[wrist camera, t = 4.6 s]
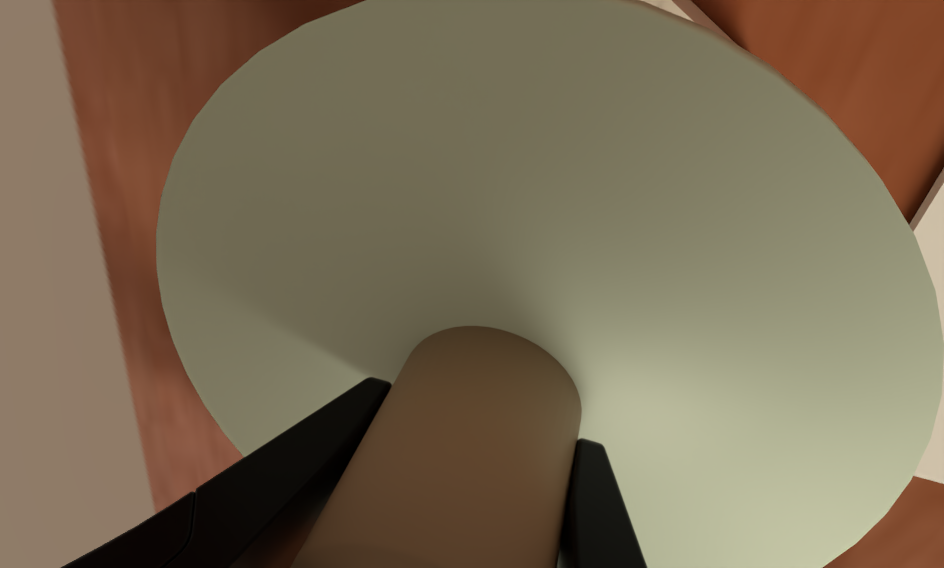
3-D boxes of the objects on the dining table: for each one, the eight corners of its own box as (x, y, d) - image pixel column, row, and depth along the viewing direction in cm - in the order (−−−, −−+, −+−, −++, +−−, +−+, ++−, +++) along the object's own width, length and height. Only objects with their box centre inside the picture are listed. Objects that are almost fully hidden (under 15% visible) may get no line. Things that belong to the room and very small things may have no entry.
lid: (730, 650, 14) (754, 948, 10) (227, 483, 16) (84, 676, 12) (1180, 87, 6) (2010, 397, 2) (117, -94, 8) (-366, -84, 4)
